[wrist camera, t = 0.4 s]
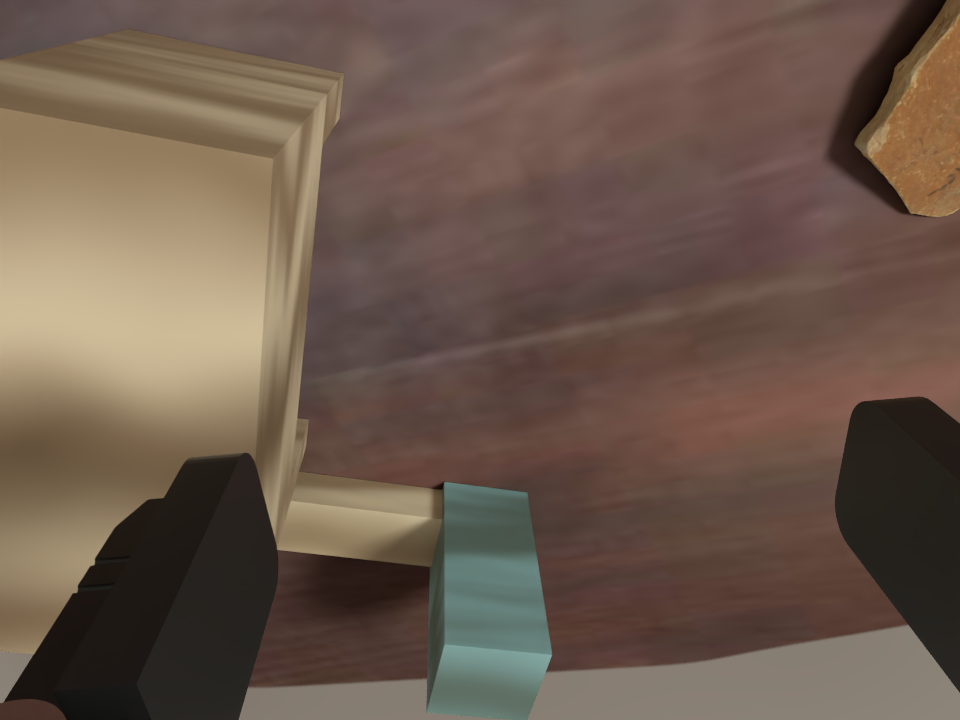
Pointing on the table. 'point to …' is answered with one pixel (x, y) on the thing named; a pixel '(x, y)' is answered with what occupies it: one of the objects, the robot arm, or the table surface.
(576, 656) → the table surface
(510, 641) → the two-colour block
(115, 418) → the wooden arch block
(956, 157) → the pottery shard
